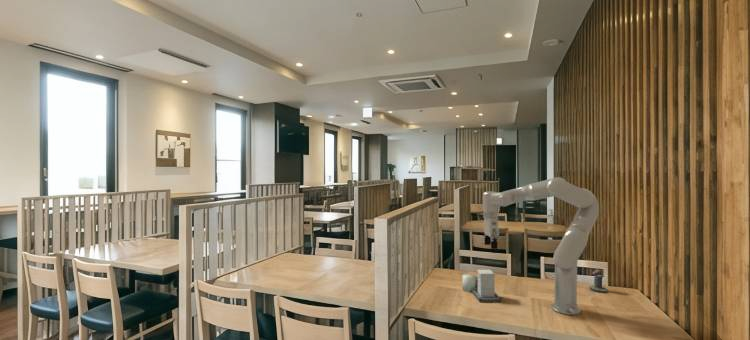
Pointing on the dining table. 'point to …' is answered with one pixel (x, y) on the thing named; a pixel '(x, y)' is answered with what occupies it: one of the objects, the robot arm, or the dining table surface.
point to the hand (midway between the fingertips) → (490, 246)
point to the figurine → (597, 283)
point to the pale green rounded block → (468, 282)
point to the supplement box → (486, 283)
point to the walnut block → (476, 282)
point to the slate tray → (485, 299)
